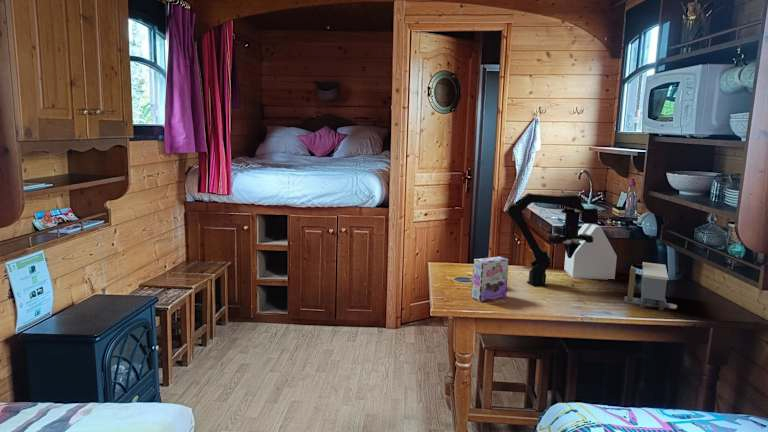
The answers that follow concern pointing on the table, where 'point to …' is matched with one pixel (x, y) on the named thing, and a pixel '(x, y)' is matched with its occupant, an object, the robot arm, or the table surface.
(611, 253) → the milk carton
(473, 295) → the candy box
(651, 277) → the cabinet
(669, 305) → the steel token
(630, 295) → the sweeper
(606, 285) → the table surface
